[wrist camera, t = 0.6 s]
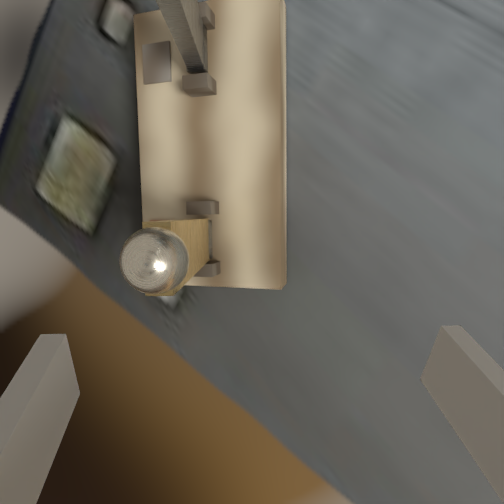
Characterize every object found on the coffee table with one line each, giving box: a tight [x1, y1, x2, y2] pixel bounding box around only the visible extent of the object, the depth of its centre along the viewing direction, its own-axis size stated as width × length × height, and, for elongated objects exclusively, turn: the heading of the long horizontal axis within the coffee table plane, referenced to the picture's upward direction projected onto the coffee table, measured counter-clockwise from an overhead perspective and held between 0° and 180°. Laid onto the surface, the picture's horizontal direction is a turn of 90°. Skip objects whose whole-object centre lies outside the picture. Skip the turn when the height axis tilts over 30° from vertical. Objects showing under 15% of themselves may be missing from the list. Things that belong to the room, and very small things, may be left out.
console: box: [133, 0, 287, 290], centre depth 28 cm, size 12×22×4 cm, turn 0°
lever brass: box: [119, 218, 213, 296], centre depth 21 cm, size 3×3×15 cm
